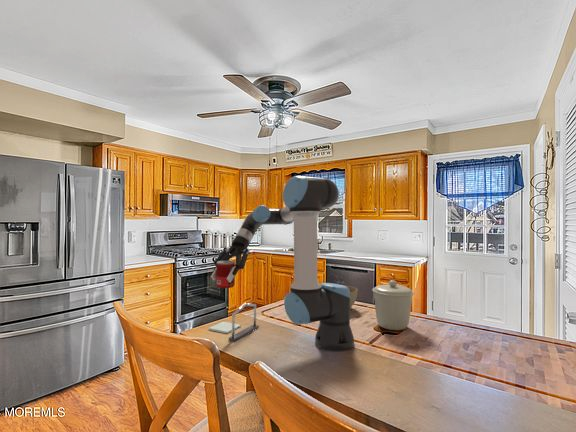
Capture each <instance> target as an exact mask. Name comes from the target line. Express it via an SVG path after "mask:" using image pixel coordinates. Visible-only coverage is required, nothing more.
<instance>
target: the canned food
mask: <svg viewBox="0 0 576 432" xmlns="http://www.w3.org/2000/svg"><path fill="white" fill-rule="evenodd" d="M235 262H236V261H233V260H228V261H218V262H217V278H216V287H217V288H219V289H231V288H234V286H235V281H236V280H235V279H236V278H235V277H236V275H234V277H233V279H232V281H231V283H230V282H229V281H228V280H227V277H228V275H229V273H230V271H231V270H232V268H233V267H235Z"/></svg>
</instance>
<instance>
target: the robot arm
mask: <svg viewBox="0 0 576 432" xmlns="http://www.w3.org/2000/svg"><path fill="white" fill-rule="evenodd" d="M339 195H340V191H339V188H338V185H337V184H336V183H335V182H334V181H332V180H331V179H329V178H326V177H316V176H315V177H314V176H306V175H302V176H301V175H294V176H292V177H290V178H288V180H287V181H286V183H285V185H284V187H283V190H282V200H283V204H284V206H283V207H281V208H269V207H268V206H266V205H264V204H261V205H258V206H256V208H255V209H253V211H252V212H251V213H248V214H247V216H246V217H245V219H244V221H243V223H242V225H241V227H240V228H239V230H238V232H236V233H237V234H236V235H235V237H234V238H233V240H232V242H231V245H230V247H228V248H227V247H226V246H224V247H223V250H222V251H221V253H220V254H219V255H218V256H217V258H216V259H215V260H214V261H213V264H214V269H213V272H212V273H211V275H210V278H211V279H212V280H213V281H214V282H215V281H216V280H217V262H218V261H230V259H232V258H234V257H235V261H234V262H235V267H233V268H232V270H231V271H230V273H229V275H228V277H227V280H228V281H229V282H230V283H231V281H232V279H233V277H234V275H235V276H236V275H237V274H238V272H239V271H240V270H244V269H245V266H246V263H247V259H248V257H249V255H250V254H251V252H250V250H249V248H248V247H249V245H250V243H251V241H252V240H253V238H254V235H255V234H256V232H257V231H258V230H259V228H261V226H263V225H286V226H287V225H292V224H293V265H294V266H293V271H294V272H293V274H294V278H293V282H292V283H291V285H290V289H289V292H288V293H286V294H285V297H284V299H283V300H284V301H283V305H284V310H285V313H286V315H287V317H288V319H289V320H290V321H291V322H292V323H293V324H295V325H297V326H298V325H308V324H312V323H317V322H319V324H318V327H317V330H316V333H315V336H314V337H315V338H314V339H315V340H314V343H315V345H316V346H317V347H318V348H320V349H324V350H327V351H332V352H333V351H334V352H339V351H341V352H342V351H347V350H351V349H352V348H354V346H355V338H354V334H353V331H352V328H351V323H350V322H351V321H350V317H351V313H350V312H351V310H350V291H349V288H348V287H346V286H347V285H342V284H338V283H332V282H322V283H320V282H319V281H318V230H317V226H318V225H317V217H318V216H319V215H320V214H321V211H324V210H326V209H329V208H332V207H334V205H336V203H337V202H338V200H339Z"/></svg>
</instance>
